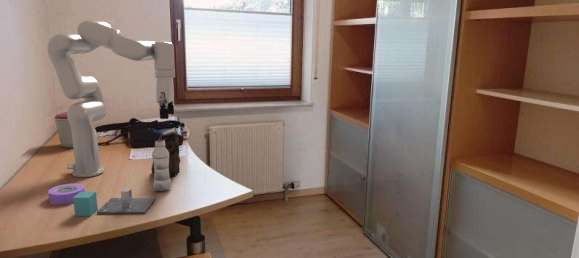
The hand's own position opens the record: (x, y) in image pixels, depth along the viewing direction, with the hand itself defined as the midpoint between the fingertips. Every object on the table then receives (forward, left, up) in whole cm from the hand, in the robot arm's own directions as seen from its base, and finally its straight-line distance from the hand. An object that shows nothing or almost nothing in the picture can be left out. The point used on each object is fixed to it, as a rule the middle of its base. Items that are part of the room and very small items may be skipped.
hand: (167, 116), depth 161 cm
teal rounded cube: (-20, -31, -28) cm, 46 cm away
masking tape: (-33, -18, -28) cm, 47 cm away
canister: (-66, +56, -28) cm, 91 cm away
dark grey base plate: (-8, -26, -28) cm, 39 cm away
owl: (-4, +10, -28) cm, 30 cm away
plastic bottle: (0, -10, -28) cm, 30 cm away
